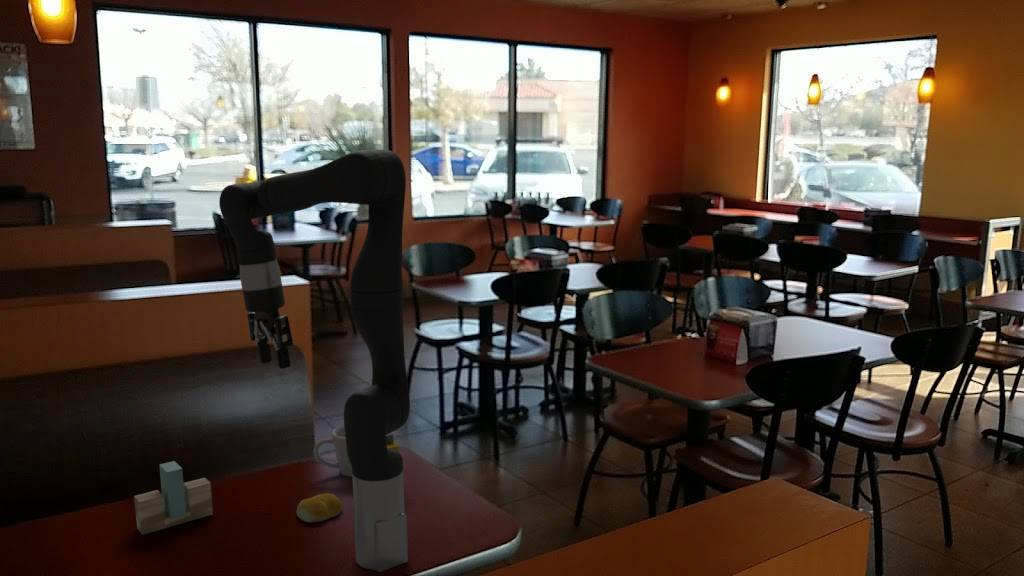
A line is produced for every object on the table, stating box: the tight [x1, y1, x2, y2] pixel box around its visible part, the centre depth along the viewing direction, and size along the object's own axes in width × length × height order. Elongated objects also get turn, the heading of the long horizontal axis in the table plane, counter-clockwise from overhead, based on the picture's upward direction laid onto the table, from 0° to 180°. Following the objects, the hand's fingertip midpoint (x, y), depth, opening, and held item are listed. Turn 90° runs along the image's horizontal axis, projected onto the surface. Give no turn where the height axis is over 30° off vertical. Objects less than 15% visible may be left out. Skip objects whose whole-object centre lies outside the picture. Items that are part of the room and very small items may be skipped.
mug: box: [312, 424, 353, 478], centre depth 190 cm, size 10×15×10 cm
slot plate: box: [133, 477, 214, 535], centre depth 166 cm, size 4×14×7 cm, turn 129°
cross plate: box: [159, 460, 186, 519], centre depth 166 cm, size 5×3×10 cm, turn 39°
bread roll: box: [296, 493, 342, 523], centre depth 170 cm, size 8×9×4 cm
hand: (275, 364), depth 161 cm, fingers open, 8 cm apart
